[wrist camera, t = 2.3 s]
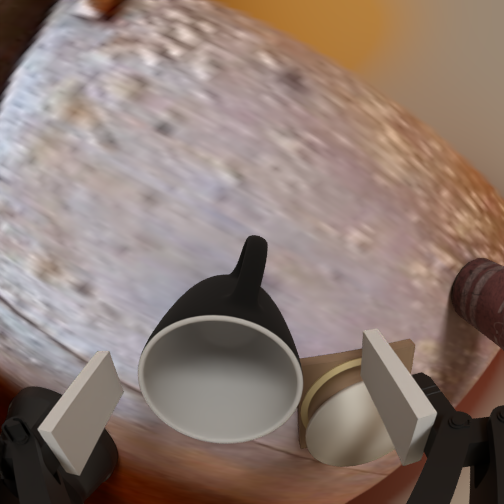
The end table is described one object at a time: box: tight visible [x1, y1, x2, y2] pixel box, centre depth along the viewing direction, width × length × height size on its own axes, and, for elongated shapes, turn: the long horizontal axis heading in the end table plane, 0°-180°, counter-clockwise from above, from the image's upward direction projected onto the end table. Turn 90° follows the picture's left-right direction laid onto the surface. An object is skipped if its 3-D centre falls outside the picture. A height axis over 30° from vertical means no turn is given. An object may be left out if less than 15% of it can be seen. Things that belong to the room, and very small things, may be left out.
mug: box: [138, 235, 303, 444], centre depth 20 cm, size 12×9×10 cm
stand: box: [298, 339, 415, 467], centre depth 25 cm, size 11×11×5 cm
